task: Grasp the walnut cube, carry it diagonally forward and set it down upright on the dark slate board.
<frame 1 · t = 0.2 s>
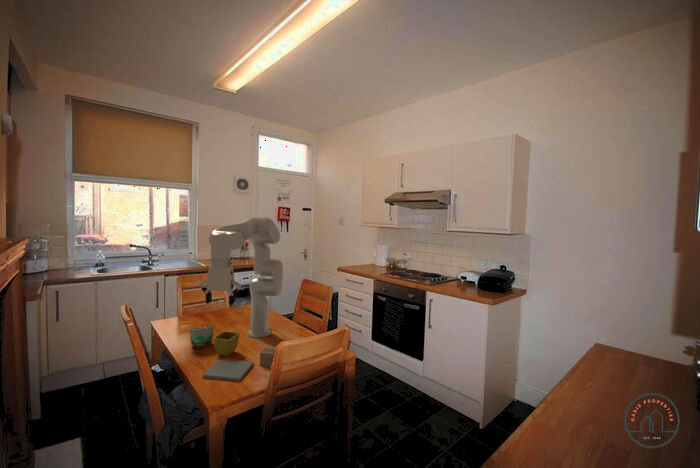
hand: (220, 303, 131), 31 cm above the table, fingers open, 9 cm apart
food container: (202, 347, 158), on the table
walnut cube: (268, 362, 145), on the table
slate board: (229, 370, 137), on the table
flower pot: (226, 353, 153), on the table
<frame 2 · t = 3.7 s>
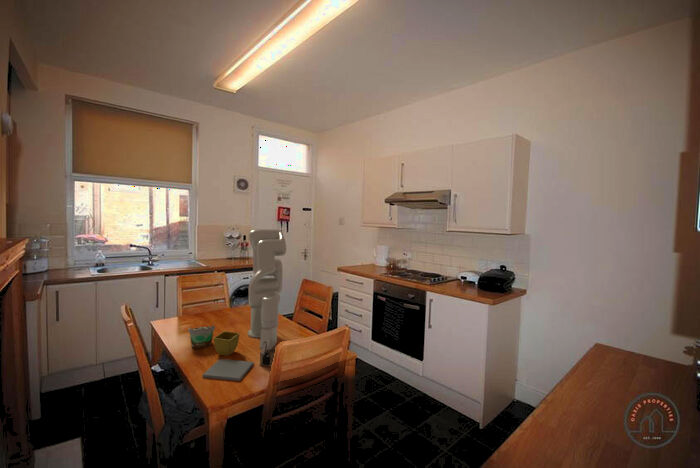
hand: (268, 360, 145), 1 cm above the table, fingers closed on walnut cube, 6 cm apart
walnut cube: (268, 362, 145), on the table, touching gripper
everything else where it was.
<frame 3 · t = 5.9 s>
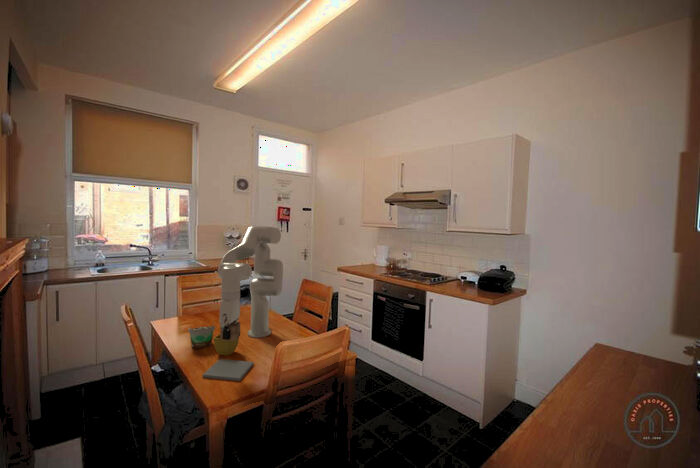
hand: (230, 335, 136), 16 cm above the table, fingers closed on walnut cube, 6 cm apart
walnut cube: (230, 337, 136), point 15 cm above the table, touching gripper
everything else where it was.
when the fingers open (3 cm above the table, at t = 8.3 s): walnut cube stays where it is, resting on slate board.
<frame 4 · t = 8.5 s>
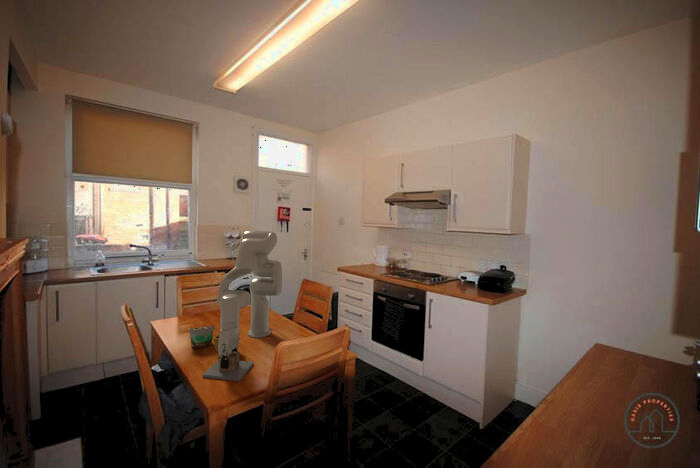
hand: (229, 363, 137), 3 cm above the table, fingers open, 7 cm apart
walnut cube: (229, 367, 137), point 1 cm above the table, touching slate board
everything else where it was.
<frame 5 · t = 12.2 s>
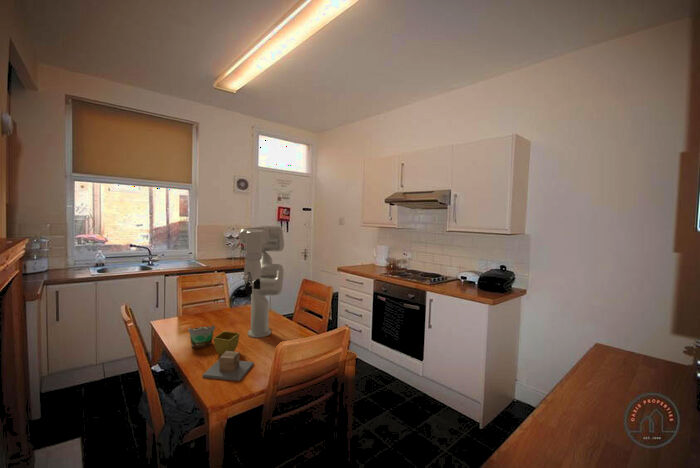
hand: (252, 291, 153), 30 cm above the table, fingers open, 9 cm apart
nothing on the table moved.
at the end: walnut cube inside the target area on the slate board (0.1 cm from its centre), point 1.2 cm above the slate board's base; walnut cube tilted 0°; the gripper is holding nothing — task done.
